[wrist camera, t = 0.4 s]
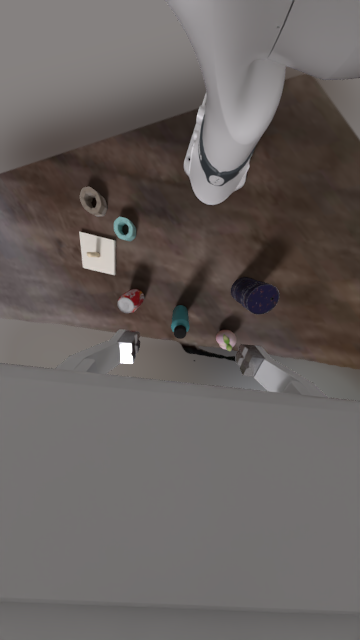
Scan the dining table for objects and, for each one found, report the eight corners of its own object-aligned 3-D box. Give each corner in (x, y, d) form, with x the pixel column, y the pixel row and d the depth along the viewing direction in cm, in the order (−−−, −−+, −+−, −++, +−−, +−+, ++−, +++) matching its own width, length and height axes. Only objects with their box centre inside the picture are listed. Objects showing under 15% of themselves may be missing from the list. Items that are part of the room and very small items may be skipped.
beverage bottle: (171, 305, 57) (166, 327, 39) (186, 301, 56) (187, 322, 38) (175, 318, 60) (172, 344, 42) (189, 314, 59) (192, 340, 41)
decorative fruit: (234, 336, 63) (243, 349, 54) (219, 343, 65) (225, 357, 56) (226, 321, 60) (234, 333, 51) (211, 330, 62) (216, 342, 53)
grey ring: (84, 194, 41) (76, 189, 38) (102, 191, 40) (95, 185, 37) (92, 217, 43) (85, 214, 40) (109, 214, 43) (103, 211, 40)
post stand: (81, 232, 45) (67, 228, 40) (115, 240, 46) (106, 238, 41) (85, 267, 51) (73, 268, 45) (115, 274, 52) (107, 276, 46)
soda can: (145, 289, 54) (136, 298, 43) (144, 305, 57) (135, 316, 46) (128, 286, 54) (115, 293, 43) (128, 302, 57) (115, 312, 46)
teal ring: (119, 218, 43) (113, 214, 40) (136, 222, 44) (133, 220, 41) (118, 238, 46) (113, 236, 43) (135, 242, 46) (131, 241, 43)
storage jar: (230, 302, 56) (245, 316, 42) (230, 279, 51) (246, 287, 38) (254, 298, 55) (277, 312, 41) (255, 274, 50) (282, 281, 37)
